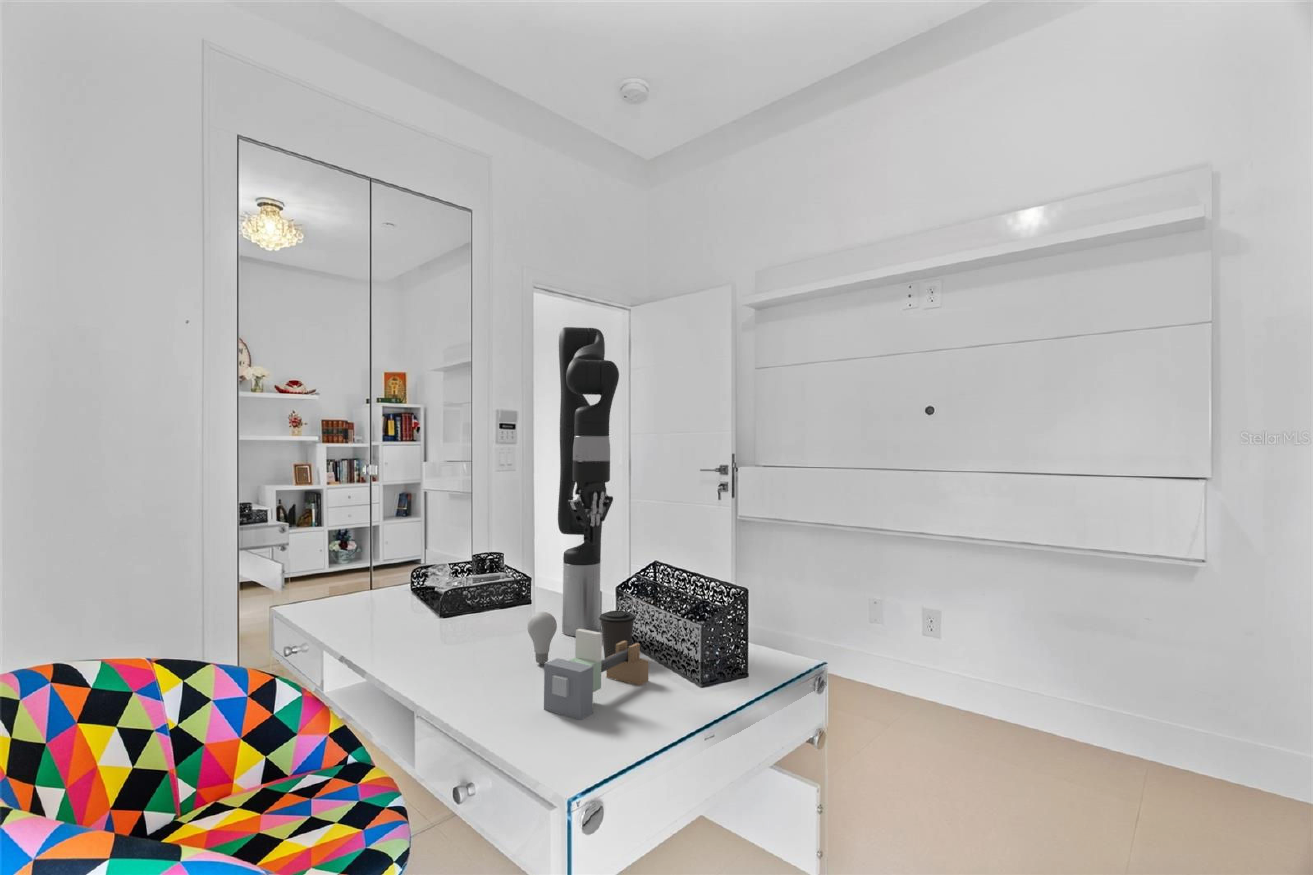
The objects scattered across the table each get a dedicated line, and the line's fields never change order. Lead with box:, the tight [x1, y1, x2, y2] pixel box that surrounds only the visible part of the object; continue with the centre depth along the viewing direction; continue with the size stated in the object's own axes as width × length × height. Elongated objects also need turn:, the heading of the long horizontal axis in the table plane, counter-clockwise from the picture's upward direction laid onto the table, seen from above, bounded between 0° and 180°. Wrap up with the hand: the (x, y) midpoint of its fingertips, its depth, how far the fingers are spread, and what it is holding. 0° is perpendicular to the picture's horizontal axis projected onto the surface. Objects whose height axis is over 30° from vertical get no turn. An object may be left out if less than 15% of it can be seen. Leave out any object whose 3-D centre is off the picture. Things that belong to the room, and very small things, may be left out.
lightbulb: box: [527, 611, 558, 665], centre depth 140 cm, size 6×6×11 cm
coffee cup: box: [599, 610, 637, 659], centre depth 144 cm, size 8×8×10 cm
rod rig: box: [543, 641, 650, 720], centre depth 123 cm, size 23×8×8 cm, turn 149°
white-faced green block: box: [567, 629, 603, 693], centre depth 119 cm, size 4×5×10 cm
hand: (590, 544), depth 134 cm, fingers closed
